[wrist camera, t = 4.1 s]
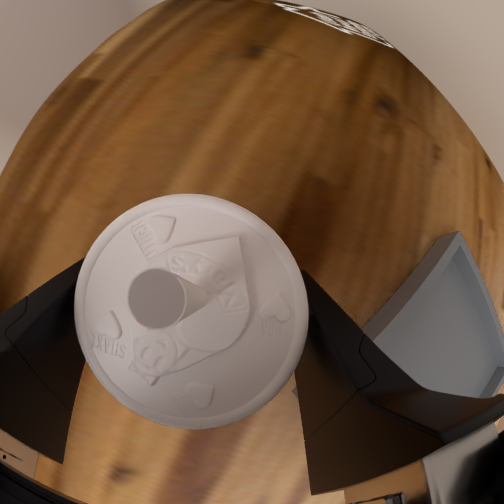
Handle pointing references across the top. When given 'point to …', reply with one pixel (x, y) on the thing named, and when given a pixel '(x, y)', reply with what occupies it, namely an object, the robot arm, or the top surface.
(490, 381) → the tray
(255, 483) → the top surface
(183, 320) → the smoothie
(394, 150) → the top surface
